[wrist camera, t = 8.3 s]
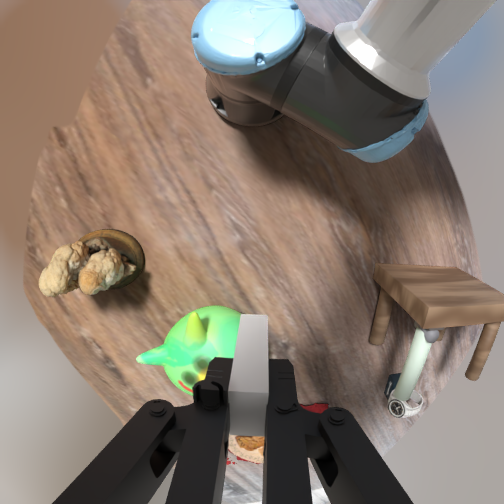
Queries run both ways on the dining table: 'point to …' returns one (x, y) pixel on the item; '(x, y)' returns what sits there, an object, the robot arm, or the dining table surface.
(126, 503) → the robot arm
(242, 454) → the plate with food
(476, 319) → the stool
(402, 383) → the hinged leg
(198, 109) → the dining table surface
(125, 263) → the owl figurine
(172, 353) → the toy bird
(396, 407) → the watch
